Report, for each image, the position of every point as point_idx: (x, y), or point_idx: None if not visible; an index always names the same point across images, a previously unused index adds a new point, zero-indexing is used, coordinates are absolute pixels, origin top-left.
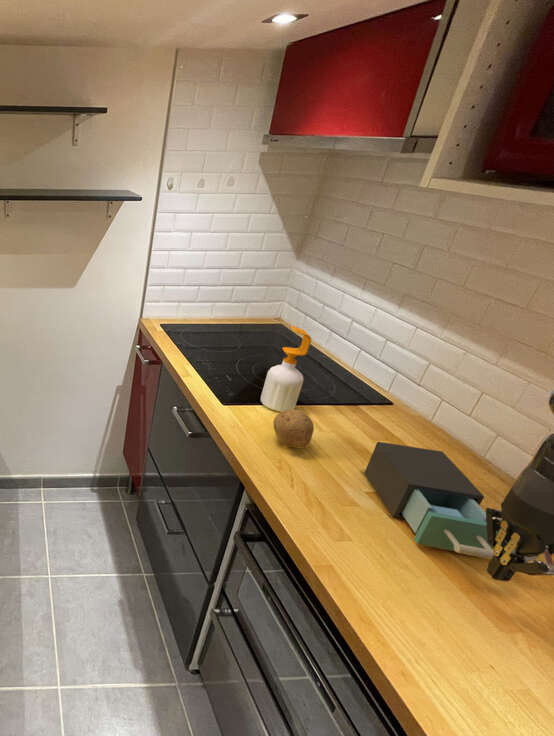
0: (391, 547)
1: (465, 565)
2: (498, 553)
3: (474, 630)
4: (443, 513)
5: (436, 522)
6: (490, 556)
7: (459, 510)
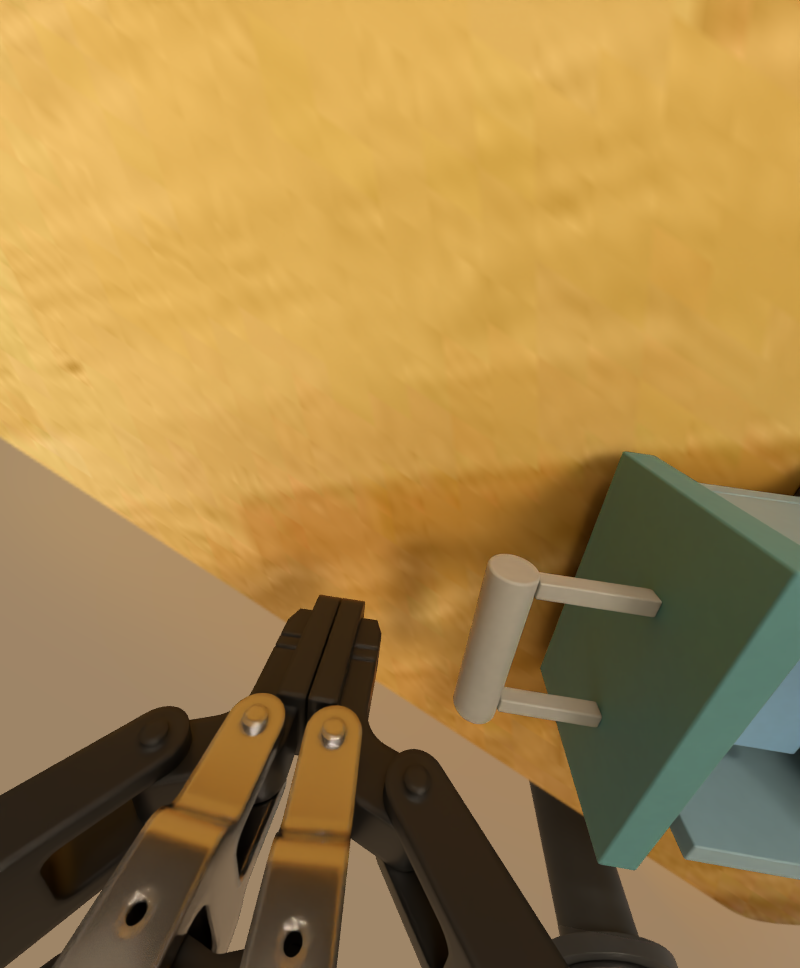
0: (618, 314)
1: None
2: (311, 741)
3: (212, 409)
4: (787, 675)
5: (719, 578)
6: (462, 677)
7: None
